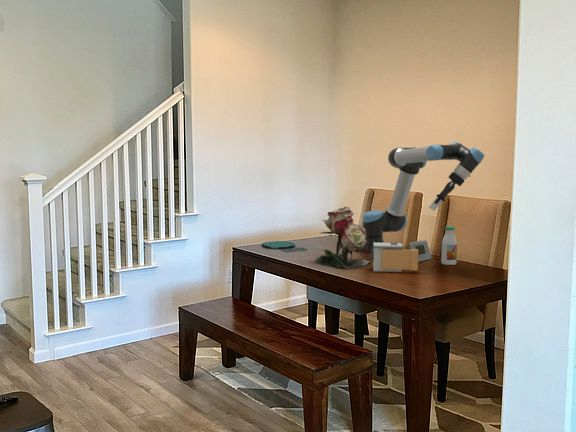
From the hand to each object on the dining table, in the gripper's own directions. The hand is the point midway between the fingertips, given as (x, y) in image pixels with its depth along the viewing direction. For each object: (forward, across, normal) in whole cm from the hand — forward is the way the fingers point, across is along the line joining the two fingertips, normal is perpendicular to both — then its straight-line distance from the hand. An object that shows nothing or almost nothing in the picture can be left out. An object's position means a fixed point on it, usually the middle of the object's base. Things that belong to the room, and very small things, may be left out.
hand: (431, 209), depth 302 cm
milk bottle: (+18, +20, -24) cm, 36 cm away
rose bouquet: (+50, +7, +17) cm, 54 cm away
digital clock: (+26, +24, -12) cm, 38 cm away
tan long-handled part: (+33, -9, -7) cm, 35 cm away
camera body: (+37, -4, -2) cm, 38 cm away
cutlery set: (+74, +41, +56) cm, 102 cm away
